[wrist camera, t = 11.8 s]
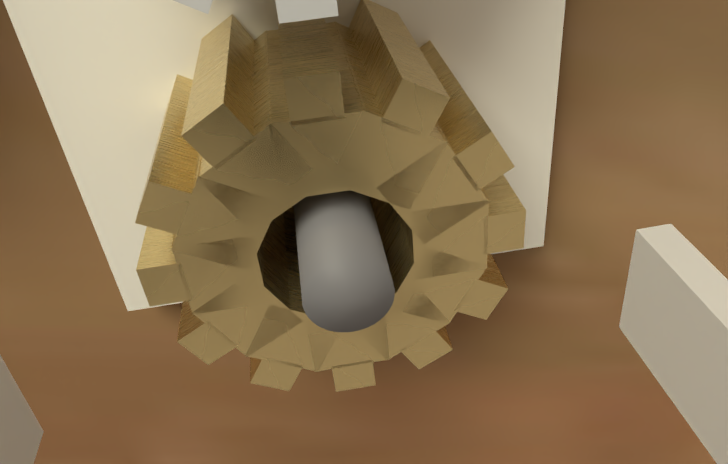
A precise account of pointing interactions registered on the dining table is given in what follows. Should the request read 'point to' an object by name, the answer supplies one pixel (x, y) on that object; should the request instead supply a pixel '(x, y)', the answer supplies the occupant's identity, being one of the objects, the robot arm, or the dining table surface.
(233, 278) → the brass gear
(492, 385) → the dining table surface
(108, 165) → the gear board
